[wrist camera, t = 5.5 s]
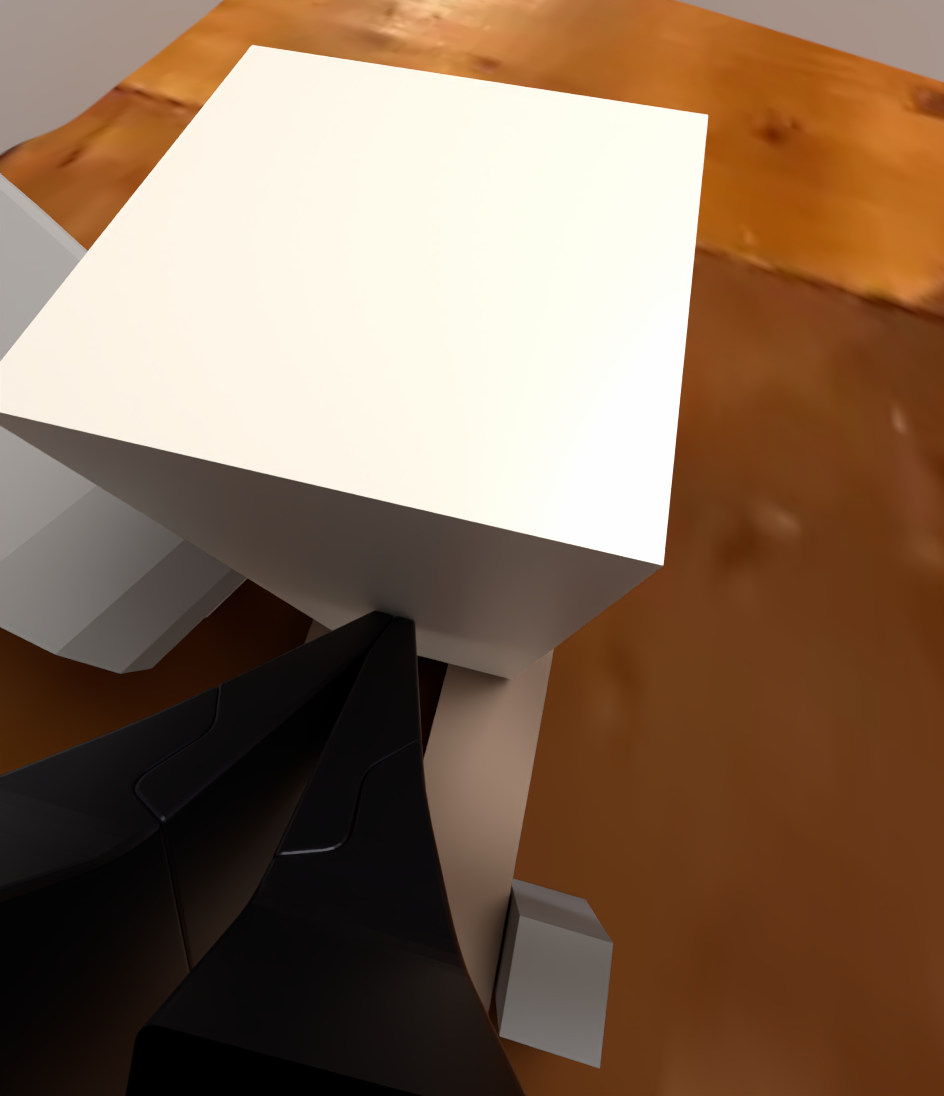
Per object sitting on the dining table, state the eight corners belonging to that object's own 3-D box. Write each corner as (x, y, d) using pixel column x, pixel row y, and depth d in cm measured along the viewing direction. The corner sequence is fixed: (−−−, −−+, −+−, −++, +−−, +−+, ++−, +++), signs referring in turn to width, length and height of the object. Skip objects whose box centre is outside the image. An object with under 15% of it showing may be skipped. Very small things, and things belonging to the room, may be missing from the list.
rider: (509, 681, 15) (663, 566, 3) (347, 639, 16) (-35, 404, 4) (541, 528, 18) (708, 115, 5) (396, 495, 18) (251, 45, 6)
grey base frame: (477, 1735, 9) (482, 2206, 6) (-105, 1475, 10) (-333, 1780, 7) (630, 553, 18) (660, 523, 15) (316, 481, 19) (289, 440, 16)
